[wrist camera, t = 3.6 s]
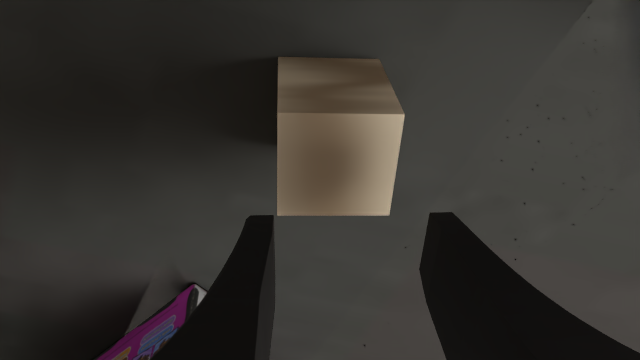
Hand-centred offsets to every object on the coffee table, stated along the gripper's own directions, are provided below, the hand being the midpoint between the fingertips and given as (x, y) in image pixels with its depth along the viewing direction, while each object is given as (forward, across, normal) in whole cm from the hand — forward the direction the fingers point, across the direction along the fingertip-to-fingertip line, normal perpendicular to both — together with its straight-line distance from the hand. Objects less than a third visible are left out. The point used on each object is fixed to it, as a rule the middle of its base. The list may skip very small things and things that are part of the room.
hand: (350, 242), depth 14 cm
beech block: (+9, 0, 0) cm, 9 cm away
